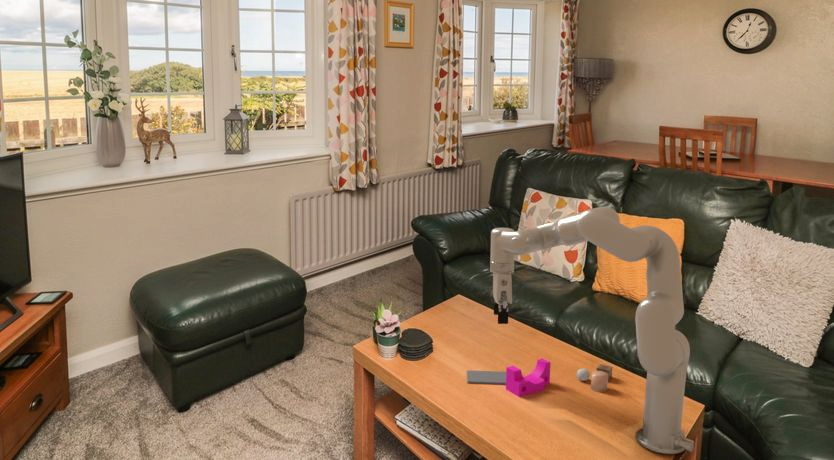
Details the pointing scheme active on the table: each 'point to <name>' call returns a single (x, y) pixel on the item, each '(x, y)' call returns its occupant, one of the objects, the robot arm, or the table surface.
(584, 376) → the grey ball
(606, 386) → the beige glossy rounded block
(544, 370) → the toy block
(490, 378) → the felt pad
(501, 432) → the table surface
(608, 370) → the walnut cube
